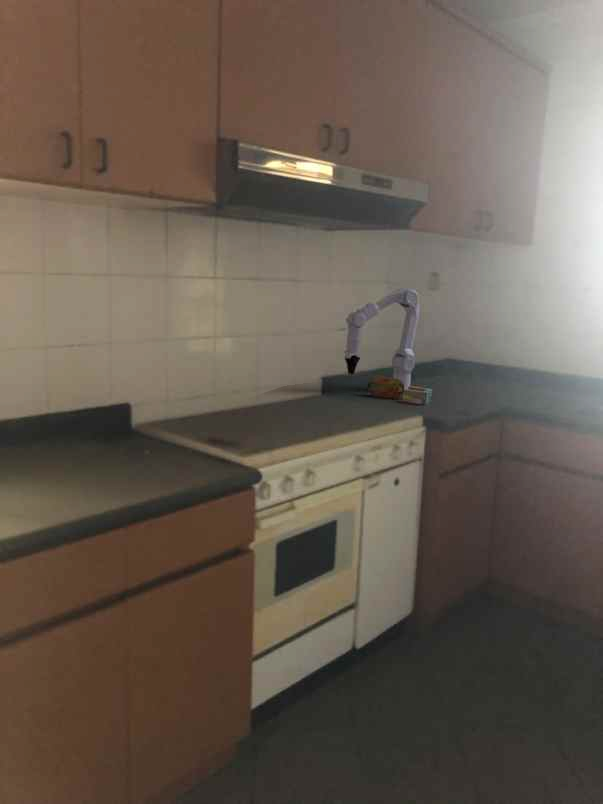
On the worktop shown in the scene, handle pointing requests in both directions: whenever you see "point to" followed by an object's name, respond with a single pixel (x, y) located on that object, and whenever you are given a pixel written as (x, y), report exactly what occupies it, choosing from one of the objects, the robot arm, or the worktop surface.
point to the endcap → (417, 395)
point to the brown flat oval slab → (386, 387)
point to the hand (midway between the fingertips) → (351, 373)
